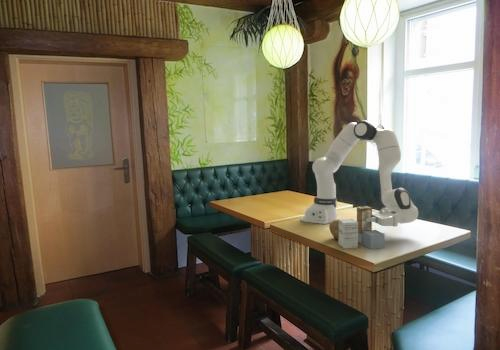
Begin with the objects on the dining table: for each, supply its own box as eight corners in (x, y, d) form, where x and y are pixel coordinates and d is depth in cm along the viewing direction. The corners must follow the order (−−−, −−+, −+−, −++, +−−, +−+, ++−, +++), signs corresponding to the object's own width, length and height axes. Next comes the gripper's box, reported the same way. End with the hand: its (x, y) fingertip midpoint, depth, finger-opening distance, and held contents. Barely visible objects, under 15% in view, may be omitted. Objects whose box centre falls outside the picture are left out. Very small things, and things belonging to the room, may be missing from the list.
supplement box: (338, 243, 189) (338, 218, 187) (352, 243, 189) (353, 218, 188) (343, 248, 181) (343, 222, 180) (358, 248, 182) (358, 222, 180)
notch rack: (366, 237, 197) (366, 225, 196) (384, 247, 182) (384, 234, 181) (354, 239, 196) (354, 226, 195) (370, 248, 180) (370, 235, 179)
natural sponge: (345, 236, 201) (345, 217, 200) (349, 241, 192) (349, 222, 191) (328, 236, 201) (328, 217, 200) (330, 241, 193) (331, 222, 191)
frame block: (367, 231, 195) (367, 206, 193) (371, 233, 191) (372, 207, 189) (356, 232, 193) (356, 207, 192) (360, 234, 190) (361, 208, 188)
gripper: (376, 205, 204) (352, 207, 201) (399, 214, 184) (373, 216, 181) (376, 217, 204) (352, 219, 201) (399, 227, 185) (373, 229, 182)
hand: (362, 218), depth 191 cm, fingers closed on frame block, 4 cm apart
